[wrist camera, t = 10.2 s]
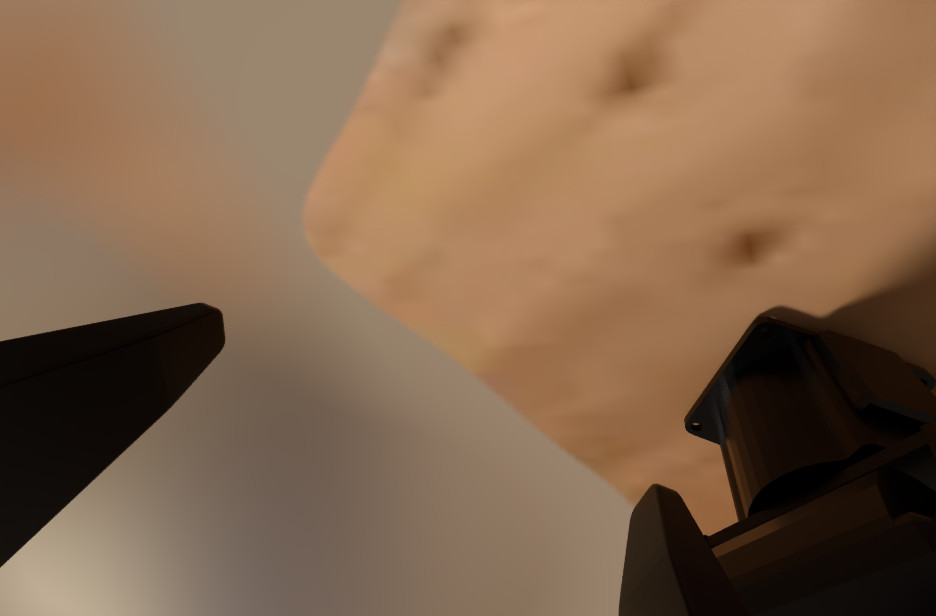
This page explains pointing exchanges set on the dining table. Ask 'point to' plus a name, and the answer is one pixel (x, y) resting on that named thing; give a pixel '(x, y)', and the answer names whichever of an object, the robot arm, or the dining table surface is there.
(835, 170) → the dining table surface
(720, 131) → the dining table surface
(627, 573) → the robot arm
